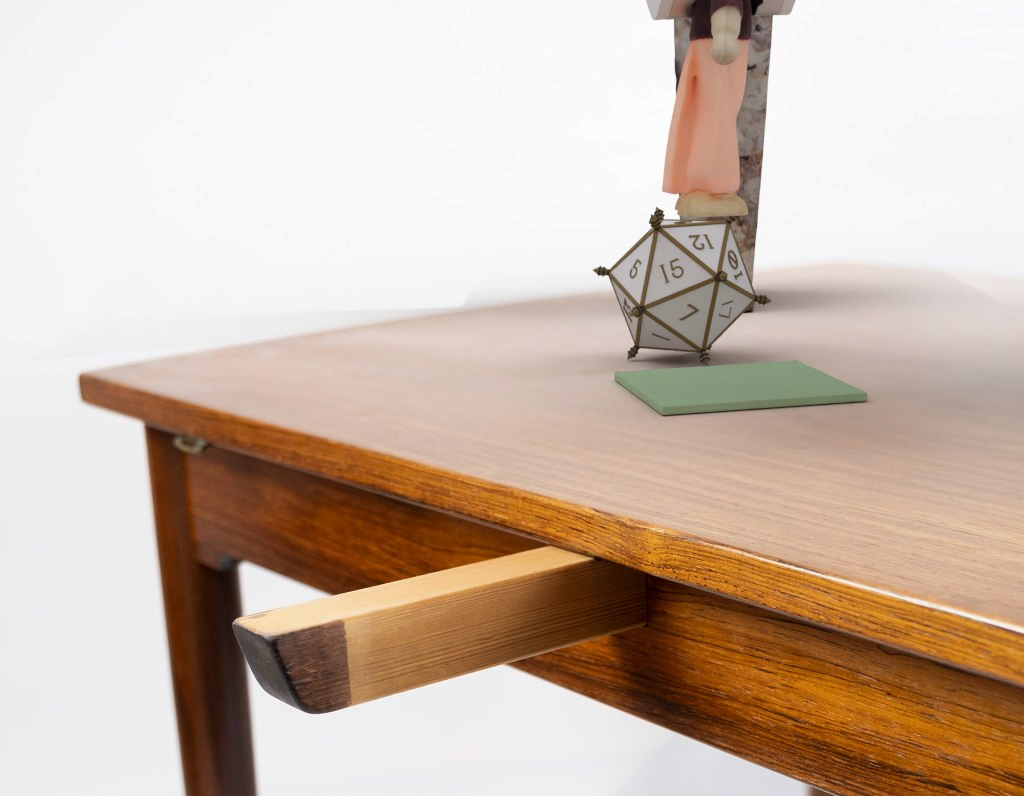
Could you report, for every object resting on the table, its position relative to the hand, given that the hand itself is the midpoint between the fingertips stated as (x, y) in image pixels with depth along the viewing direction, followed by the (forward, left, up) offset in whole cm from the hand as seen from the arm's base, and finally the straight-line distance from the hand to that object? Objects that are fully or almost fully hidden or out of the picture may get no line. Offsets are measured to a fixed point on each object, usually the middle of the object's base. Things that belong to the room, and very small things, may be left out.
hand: (727, 3), depth 56 cm
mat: (-5, -13, -17) cm, 22 cm away
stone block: (-14, -46, -17) cm, 51 cm away
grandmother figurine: (0, -1, -8) cm, 8 cm away
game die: (-5, -23, -17) cm, 29 cm away
